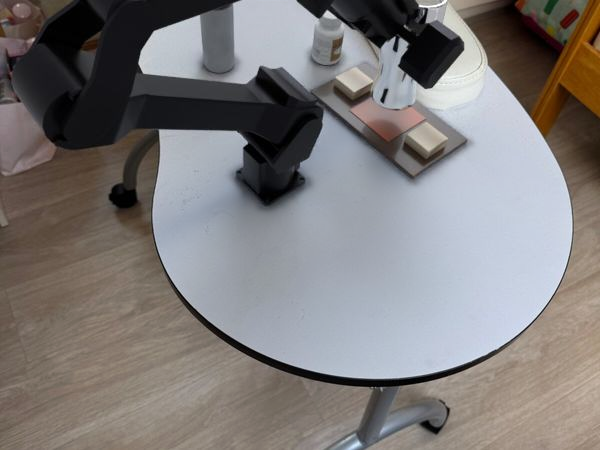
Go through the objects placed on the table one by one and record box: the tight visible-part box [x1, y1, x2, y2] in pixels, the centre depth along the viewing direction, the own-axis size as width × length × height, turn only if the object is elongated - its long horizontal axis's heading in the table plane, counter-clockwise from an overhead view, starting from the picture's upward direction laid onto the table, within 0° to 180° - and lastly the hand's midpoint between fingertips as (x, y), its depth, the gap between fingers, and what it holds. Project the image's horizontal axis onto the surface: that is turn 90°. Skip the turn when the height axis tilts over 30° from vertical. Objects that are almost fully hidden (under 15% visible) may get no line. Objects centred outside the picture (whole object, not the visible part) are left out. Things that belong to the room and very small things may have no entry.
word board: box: [310, 62, 468, 180], centre depth 81 cm, size 11×20×2 cm, turn 40°
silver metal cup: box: [370, 0, 449, 111], centre depth 72 cm, size 7×7×15 cm
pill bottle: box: [311, 10, 346, 66], centre depth 86 cm, size 4×4×8 cm
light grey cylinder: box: [199, 3, 236, 74], centre depth 82 cm, size 4×4×10 cm
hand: (411, 47), depth 73 cm, fingers closed on silver metal cup, 6 cm apart
